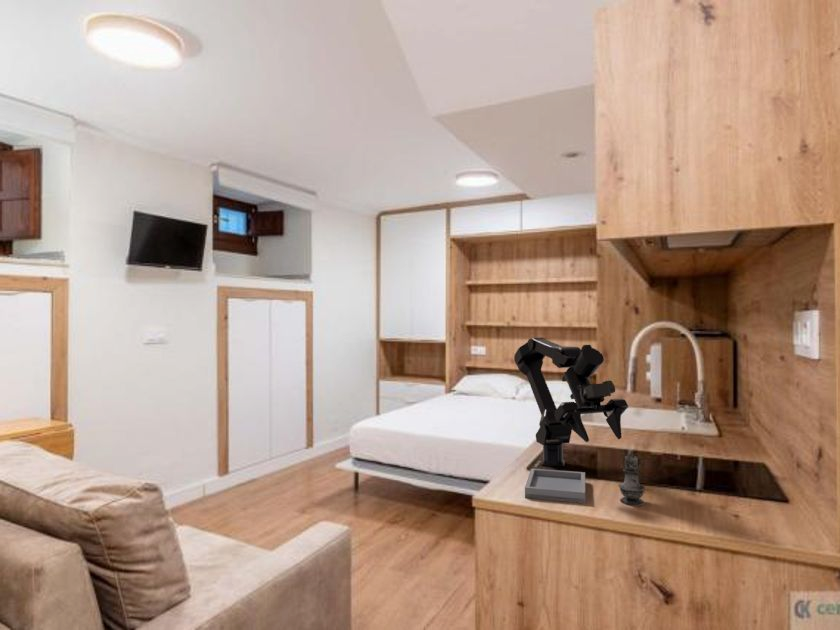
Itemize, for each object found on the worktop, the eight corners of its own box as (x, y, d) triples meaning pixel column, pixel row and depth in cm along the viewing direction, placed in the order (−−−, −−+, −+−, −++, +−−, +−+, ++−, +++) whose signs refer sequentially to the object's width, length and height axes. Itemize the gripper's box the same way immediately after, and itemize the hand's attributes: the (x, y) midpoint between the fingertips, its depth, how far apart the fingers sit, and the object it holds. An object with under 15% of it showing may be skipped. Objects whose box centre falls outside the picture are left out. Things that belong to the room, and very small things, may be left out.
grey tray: (531, 477, 139) (531, 468, 139) (585, 481, 135) (584, 472, 135) (525, 497, 124) (524, 487, 124) (585, 503, 119) (585, 492, 119)
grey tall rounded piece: (613, 499, 122) (612, 449, 122) (632, 495, 124) (631, 446, 124) (631, 507, 116) (630, 455, 116) (651, 504, 118) (650, 452, 118)
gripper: (561, 371, 128) (584, 427, 118) (625, 368, 133) (652, 421, 123) (545, 394, 136) (565, 448, 127) (606, 391, 141) (630, 442, 131)
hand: (604, 440), depth 127 cm, fingers open, 9 cm apart
